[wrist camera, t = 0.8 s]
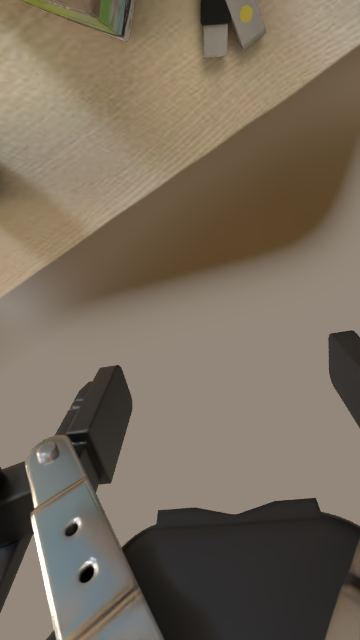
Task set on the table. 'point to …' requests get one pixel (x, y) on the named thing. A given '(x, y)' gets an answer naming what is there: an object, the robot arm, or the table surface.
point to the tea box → (94, 14)
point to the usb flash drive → (242, 9)
